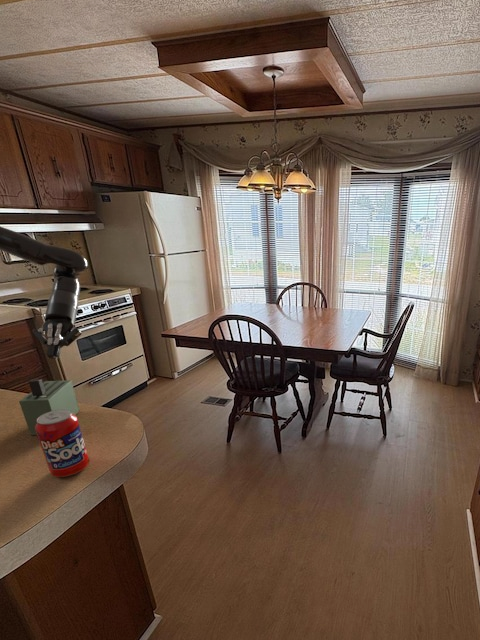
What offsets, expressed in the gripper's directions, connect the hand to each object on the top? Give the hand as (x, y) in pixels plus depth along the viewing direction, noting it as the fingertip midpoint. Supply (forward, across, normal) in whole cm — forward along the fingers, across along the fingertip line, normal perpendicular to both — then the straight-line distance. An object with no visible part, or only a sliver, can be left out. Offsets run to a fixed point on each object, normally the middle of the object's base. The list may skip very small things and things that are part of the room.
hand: (52, 357), depth 101 cm
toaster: (+18, 0, +8) cm, 20 cm away
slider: (+12, 0, -2) cm, 12 cm away
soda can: (+34, +14, -8) cm, 38 cm away
